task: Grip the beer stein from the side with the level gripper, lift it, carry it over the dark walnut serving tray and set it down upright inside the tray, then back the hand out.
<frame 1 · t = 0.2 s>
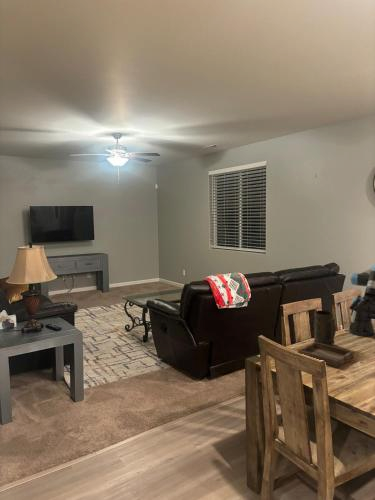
hand: (364, 323, 209), 15 cm above the table, tool tilted 35°, fingers open, 13 cm apart
walnut tray: (325, 357, 201), on the table
beer stein: (326, 345, 218), on the table
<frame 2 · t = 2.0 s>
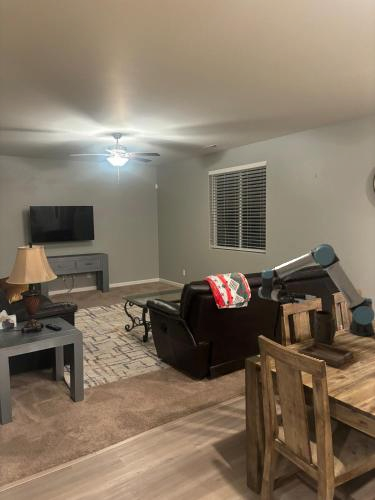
hand: (310, 300, 224), 26 cm above the table, tool horizontal, fingers open, 13 cm apart
nothing on the table moved.
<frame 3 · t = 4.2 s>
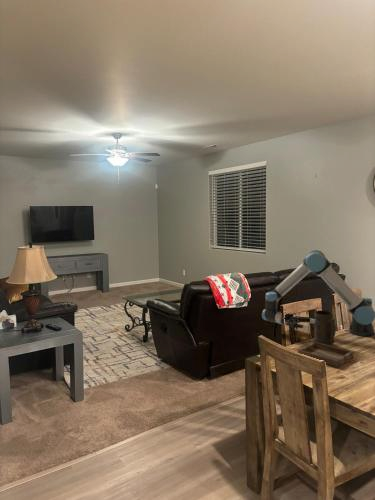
hand: (314, 325, 223), 11 cm above the table, tool horizontal, fingers open, 13 cm apart
nothing on the table moved.
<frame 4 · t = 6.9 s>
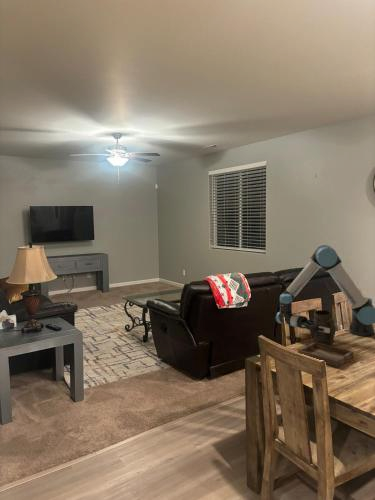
hand: (333, 328, 214), 11 cm above the table, tool horizontal, fingers closed on beer stein, 10 cm apart
beer stein: (326, 345, 218), on the table, touching gripper
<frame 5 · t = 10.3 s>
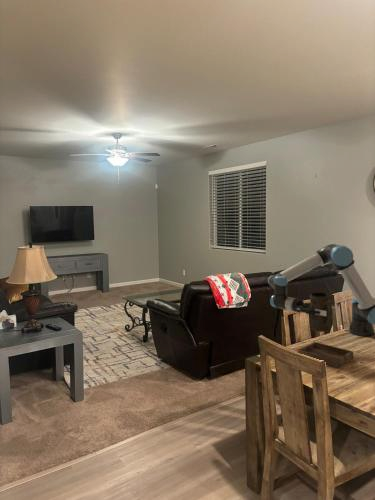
hand: (331, 311, 198), 25 cm above the table, tool horizontal, fingers closed on beer stein, 9 cm apart
beer stein: (322, 330, 202), point 14 cm above the table, touching gripper
when the fingers open (13 cm above the table, at t = 13.7 s): beer stein drops 2 cm, resting on walnut tray.
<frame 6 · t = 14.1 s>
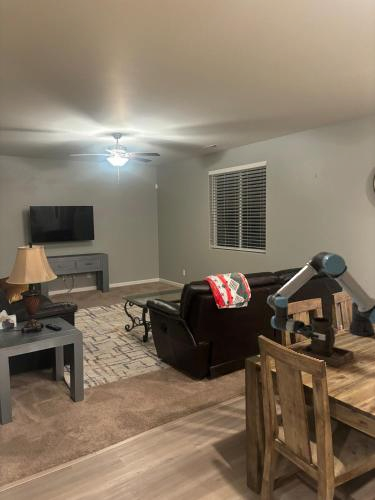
hand: (331, 334, 197), 13 cm above the table, tool horizontal, fingers open, 13 cm apart
beer stein: (324, 355, 201), point 1 cm above the table, touching walnut tray
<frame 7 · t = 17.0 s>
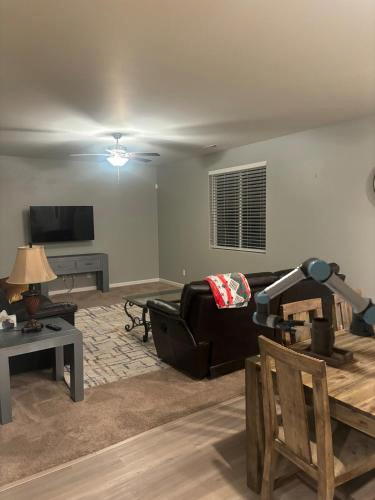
hand: (308, 329, 207), 13 cm above the table, tool horizontal, fingers open, 13 cm apart
nothing on the table moved.
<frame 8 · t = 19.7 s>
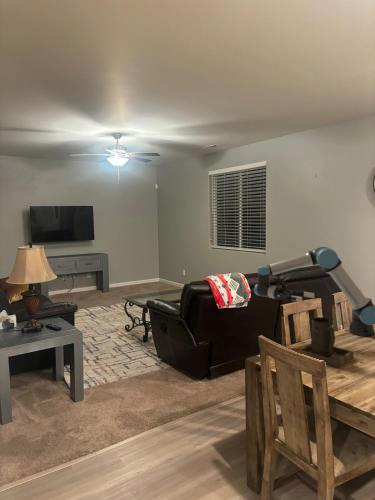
hand: (308, 297, 212), 30 cm above the table, tool horizontal, fingers open, 13 cm apart
nothing on the table moved.
at the end: beer stein inside the target area on the walnut tray (0.3 cm from its centre), point 0.6 cm above the walnut tray's base; beer stein tilted 0°; the gripper is holding nothing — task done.
